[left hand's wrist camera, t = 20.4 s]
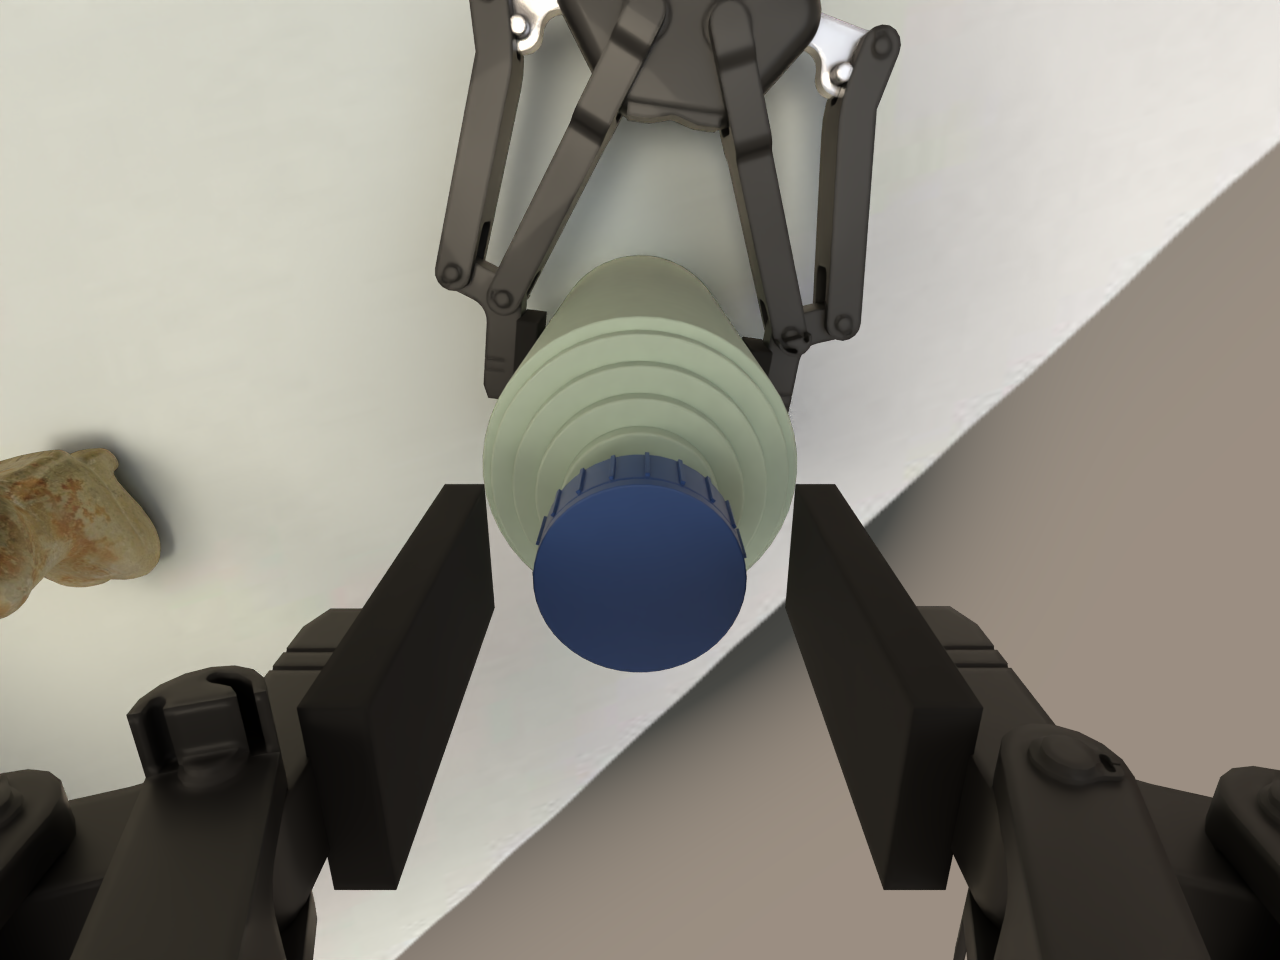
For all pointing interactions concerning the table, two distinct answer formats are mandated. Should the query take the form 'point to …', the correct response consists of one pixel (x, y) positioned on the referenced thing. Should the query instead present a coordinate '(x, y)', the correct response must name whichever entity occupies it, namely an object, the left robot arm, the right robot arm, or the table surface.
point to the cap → (639, 564)
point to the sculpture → (68, 524)
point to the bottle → (639, 403)
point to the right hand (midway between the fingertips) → (625, 489)
